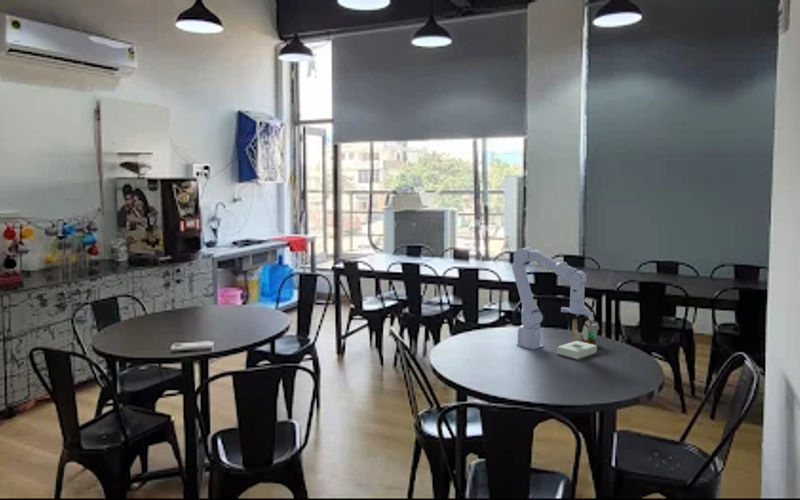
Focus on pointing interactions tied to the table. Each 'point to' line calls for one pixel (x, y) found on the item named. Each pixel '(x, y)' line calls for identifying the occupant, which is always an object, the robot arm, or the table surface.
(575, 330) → the peg
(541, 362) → the table surface
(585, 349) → the socket block
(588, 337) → the food container
